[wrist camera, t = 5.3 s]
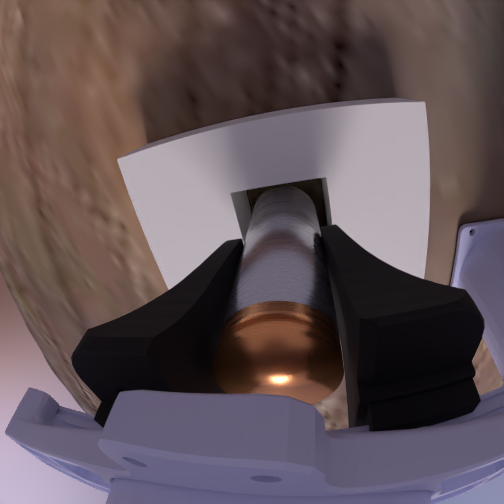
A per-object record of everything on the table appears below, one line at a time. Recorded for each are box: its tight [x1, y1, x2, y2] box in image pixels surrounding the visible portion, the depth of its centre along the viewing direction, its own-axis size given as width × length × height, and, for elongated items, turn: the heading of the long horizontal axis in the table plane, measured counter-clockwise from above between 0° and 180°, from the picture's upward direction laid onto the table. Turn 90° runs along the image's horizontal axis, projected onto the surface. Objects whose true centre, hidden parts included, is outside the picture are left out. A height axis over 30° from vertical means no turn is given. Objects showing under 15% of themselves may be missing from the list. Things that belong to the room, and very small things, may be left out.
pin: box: [212, 186, 344, 404], centre depth 10 cm, size 3×3×9 cm
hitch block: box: [117, 98, 430, 289], centre depth 15 cm, size 14×10×4 cm
